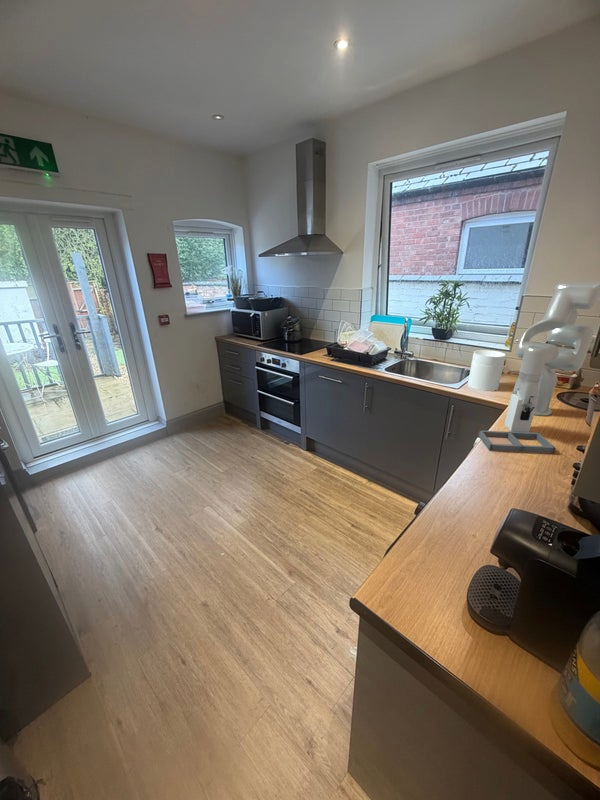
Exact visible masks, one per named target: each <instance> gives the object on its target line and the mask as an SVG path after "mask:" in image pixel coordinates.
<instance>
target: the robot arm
mask: <svg viewBox="0 0 600 800" xmlns="http://www.w3.org/2000/svg"><path fill="white" fill-rule="evenodd" d="M599 302H600V281H583V280H582V281H581V280H576V281H575V280H573V281H572V280H570V281H568V280H567V281H562V282H561V281H560V282H558V283H557V284H556V285H554V288H553V292H552V296H551V299H550V301H549V303H548V306H547V307H546V310H545V312H544V314H543V317H542V318H541V320H538V321H536V322H535V323H533V324H532V325H531V326H529V327H528V328H527V329H525V331H524V332H523V333H522V335H521V337H520V339H519V342H518V344H517V347H516V350H515V355H516V356H517V358H519V359H522V361H521V364H520V369H519V374H518V376H517V379H516V381H515V384H514V388H513V390H512V393H513V392H515V391H516V390H517V388H519V393H520V398H521V403H520V405H524V406H523V411H522V413H521V417H520V420H529V417H530V413H531V412H532V410H533V409H534V408H535V407H536V408H535V412H534V415H535V416H540V417H543V416H545V417H546V416H550V415H552V413H553V411H552V410H551V408H550V405H551V401H552V398H553V395H554V391H555V388H556V384H557V382H558V375H557V371H555V370H560V371H561V370H562V371H566V372H567V371H568V372H577V371H579V370H580V369H581V368H582V366H583V364H584V363H585V359H586V356H587V354H588V350H589V349H590V345H591V342H592V340H593V336H594V329H593V327H591V326H589V325H585V324H584V325H583V324H576V322H577V320H578V317H579V311H578V310H592V309H593V308H594V307H595V306H596V305H597V304H598V303H599ZM546 332H547V335H546V341H547V343H546V342H540V341H539V342H537V341H531V339H533V338H534V337H535V336H537V335H538V334H541V333H546ZM559 346H560V347H559ZM561 346H565V347H561ZM568 347H572V348H568ZM573 348H574V349H573ZM514 394H515V395H516V396H517V397H518V395H517V392H515V393H514ZM536 397H537V400H538V401H537V405H536V406H535V401H536ZM528 401H529V403H530V404H527V402H528ZM526 406H529V407H528V408H526Z"/></svg>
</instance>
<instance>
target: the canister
mask: <svg viewBox="0 0 600 800" xmlns="http://www.w3.org/2000/svg"><path fill="white" fill-rule="evenodd" d="M506 357H507V355H506V353H505V352H502V351H498V350H491V349H477V350H474V351H473V354H472V360H471V364H470V369H469V375H468V381H467V386H468V387H469V388H470V389H473V388H474V389H473V390H476V389H478V390H477V391H481V390H483V391H482V392H495V390H496V391H498V390H499V387H500V383H501V379H502V374H503V369H504V366H505V361H506Z"/></svg>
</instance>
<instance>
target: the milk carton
mask: <svg viewBox="0 0 600 800" xmlns="http://www.w3.org/2000/svg"><path fill="white" fill-rule="evenodd" d="M515 392H517V395H518V397H517V396H516V395H515V394H514V393H515ZM515 392H513V391H512V393H511V396H510V398H509V403H508V407H507V411H506V412H507V413H506V416H505V421H504V426H505V427H506V428H507V429H508V431H509V432H529V433H530V431H531V425H532V422H533V419H534V412H535V408H536V407H535V408H534V409H533V410H532V412H531V413H530V417H529V420H520V417H521V413H522V411H523V406H524V405H520V403H521V398H520V393H519V388H517V390H516V391H515ZM537 401H538V400H537V397H536V401H535V406H536V405H537ZM527 404H530V403H529V401H528V402H527ZM528 407H529V406H526V408H528Z"/></svg>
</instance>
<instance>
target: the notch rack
mask: <svg viewBox="0 0 600 800" xmlns="http://www.w3.org/2000/svg"><path fill="white" fill-rule="evenodd" d="M477 434H478V435H477V437H478V438H479V439H480V440H481V442H482V443H483V444H484V446H485V447H486V448H487V450H488V451H490V452H491V451H492V452H493V451H494V452H512V453H531V454H553V455H554V454H555V451H556V449H557V448H556V446H554V445H553V444H552V443H551V442H550V441H549V440H547V439H546V438H545V437H544V436H543V435H542V434H541V433H539V432H530V431H529V432H510V431H505V430H504V431H502V430H497V431H496V430H478V433H477ZM520 439H524V440H535V441H537V442H538V443H539V444H540V445H531V444H530V445H528V444H527V445H525V444H523V443H522V442H520Z"/></svg>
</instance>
